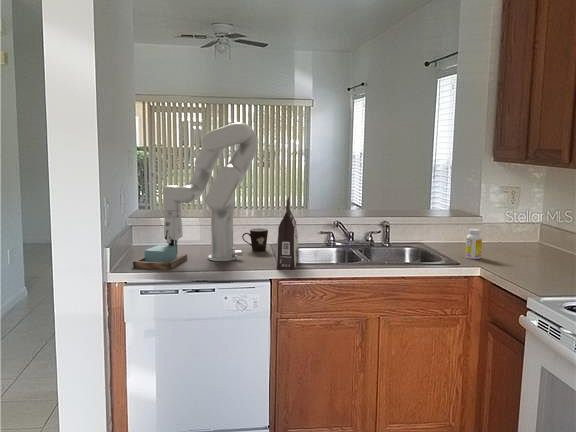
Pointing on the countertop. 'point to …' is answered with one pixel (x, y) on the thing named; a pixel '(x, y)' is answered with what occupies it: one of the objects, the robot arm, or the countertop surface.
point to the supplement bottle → (473, 244)
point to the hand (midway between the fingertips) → (173, 254)
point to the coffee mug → (258, 239)
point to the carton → (161, 254)
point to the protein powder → (287, 242)
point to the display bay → (157, 265)
